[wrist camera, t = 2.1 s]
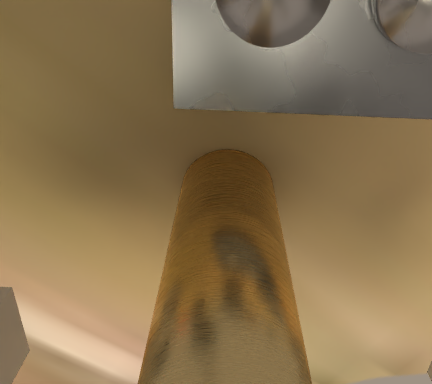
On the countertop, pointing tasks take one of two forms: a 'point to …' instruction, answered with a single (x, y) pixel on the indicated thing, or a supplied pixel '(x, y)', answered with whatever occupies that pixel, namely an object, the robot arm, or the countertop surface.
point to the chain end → (304, 56)
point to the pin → (226, 284)
